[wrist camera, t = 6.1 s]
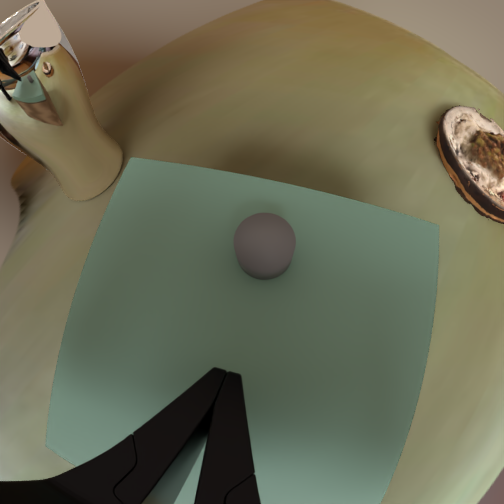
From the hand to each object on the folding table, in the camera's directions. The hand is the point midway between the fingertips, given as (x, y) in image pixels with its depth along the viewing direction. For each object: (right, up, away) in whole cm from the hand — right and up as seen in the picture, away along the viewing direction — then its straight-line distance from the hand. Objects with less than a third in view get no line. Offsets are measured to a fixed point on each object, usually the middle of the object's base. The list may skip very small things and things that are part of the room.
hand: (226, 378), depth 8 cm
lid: (0, 0, +2) cm, 2 cm away
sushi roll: (+23, +12, +13) cm, 29 cm away
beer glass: (-13, +10, +13) cm, 21 cm away
